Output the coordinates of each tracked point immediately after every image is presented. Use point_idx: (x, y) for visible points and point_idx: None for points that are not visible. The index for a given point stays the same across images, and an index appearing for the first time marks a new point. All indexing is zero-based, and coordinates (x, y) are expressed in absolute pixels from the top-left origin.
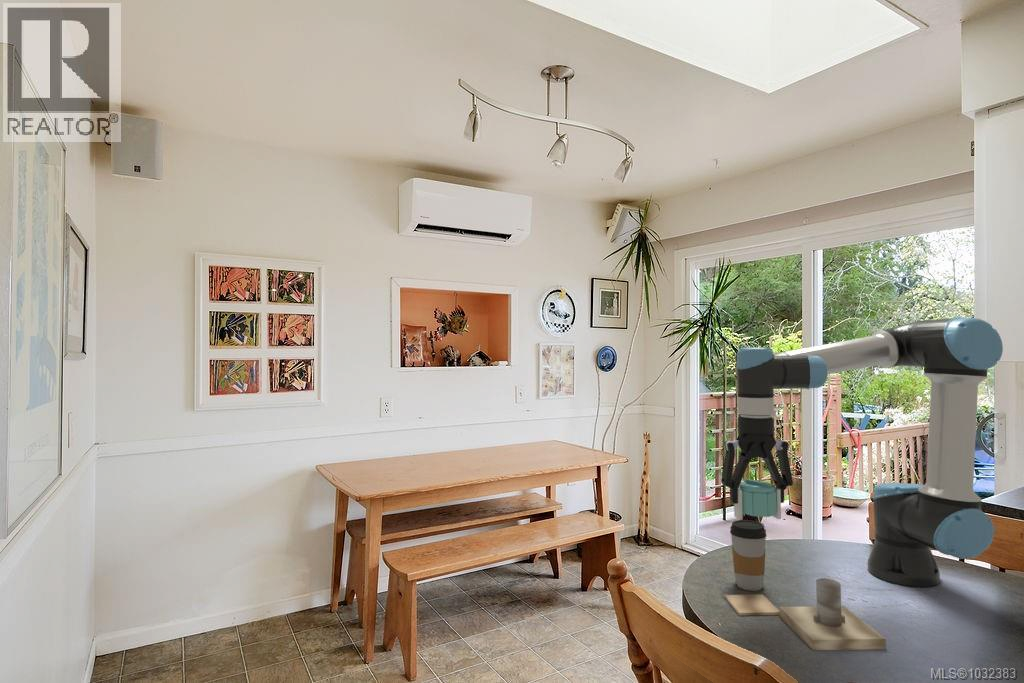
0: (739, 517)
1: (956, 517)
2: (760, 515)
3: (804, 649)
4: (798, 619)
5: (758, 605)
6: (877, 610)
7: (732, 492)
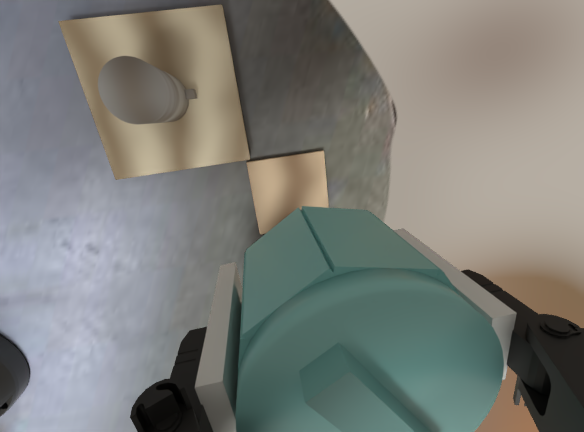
0: (406, 232)
1: None
2: (336, 210)
3: (240, 15)
4: (227, 102)
5: (280, 186)
6: (50, 206)
7: (528, 308)
